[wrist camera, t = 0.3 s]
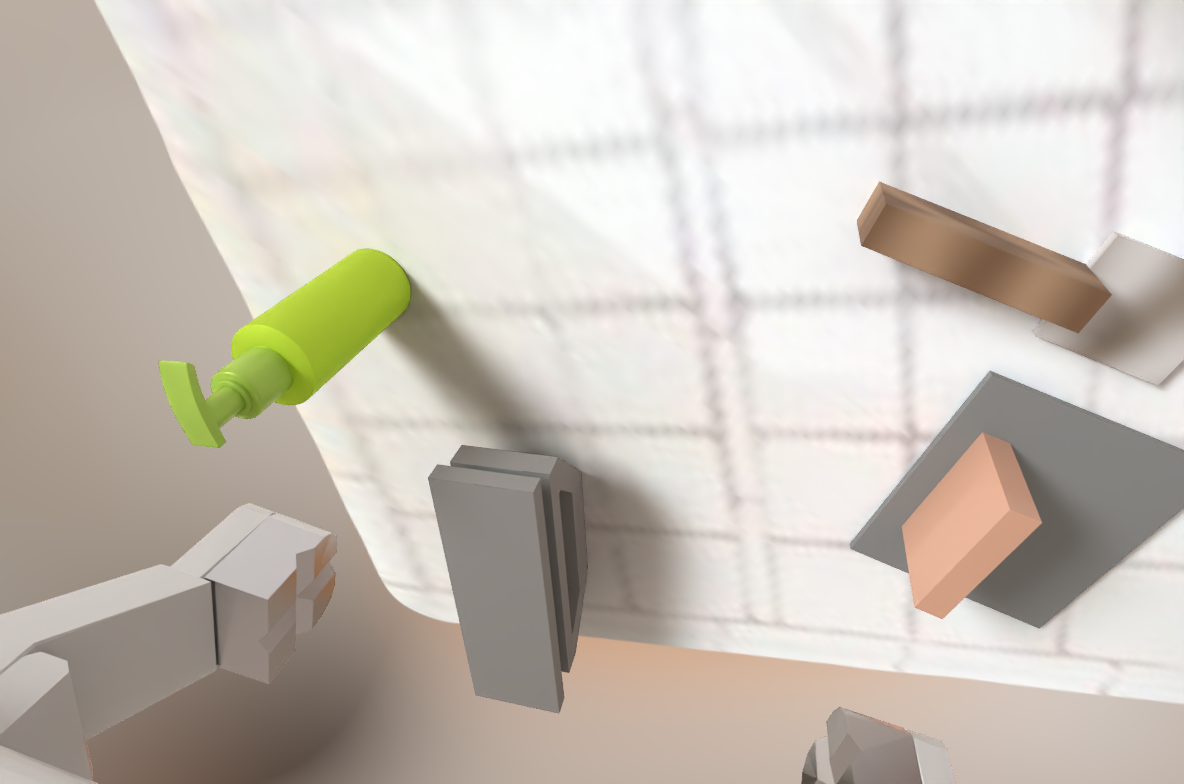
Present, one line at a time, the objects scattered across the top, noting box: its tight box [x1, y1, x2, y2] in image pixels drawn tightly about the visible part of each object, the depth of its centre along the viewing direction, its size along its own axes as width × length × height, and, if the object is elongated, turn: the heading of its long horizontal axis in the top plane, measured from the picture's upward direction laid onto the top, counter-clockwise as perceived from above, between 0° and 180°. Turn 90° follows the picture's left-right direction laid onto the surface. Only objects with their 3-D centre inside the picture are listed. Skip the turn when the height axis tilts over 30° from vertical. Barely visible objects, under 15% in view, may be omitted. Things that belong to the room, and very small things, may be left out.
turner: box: [857, 182, 1184, 386], centre depth 40 cm, size 21×7×4 cm, turn 72°
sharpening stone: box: [428, 445, 588, 713], centre depth 59 cm, size 25×8×11 cm, turn 2°
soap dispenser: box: [159, 249, 411, 448], centre depth 46 cm, size 6×7×20 cm
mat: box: [850, 371, 1184, 628], centre depth 50 cm, size 18×16×1 cm
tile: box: [902, 432, 1042, 619], centre depth 47 cm, size 10×2×8 cm, turn 162°
